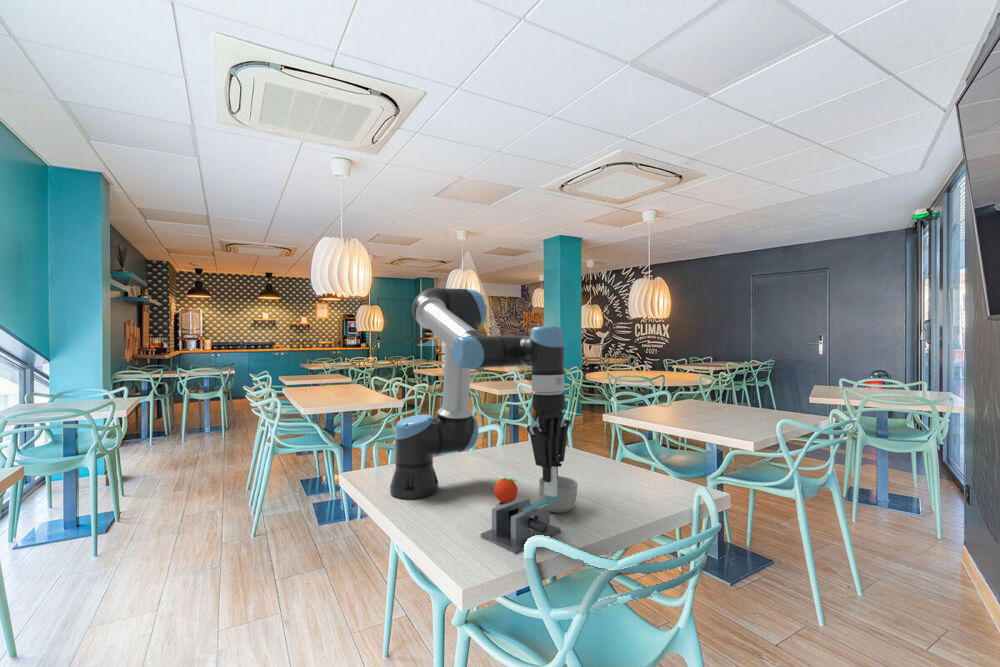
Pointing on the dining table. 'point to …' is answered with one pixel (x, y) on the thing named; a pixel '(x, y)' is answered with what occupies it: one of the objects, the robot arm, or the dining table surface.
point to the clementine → (505, 490)
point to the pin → (532, 523)
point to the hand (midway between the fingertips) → (550, 494)
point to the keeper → (541, 503)
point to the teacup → (561, 494)
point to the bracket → (517, 524)
